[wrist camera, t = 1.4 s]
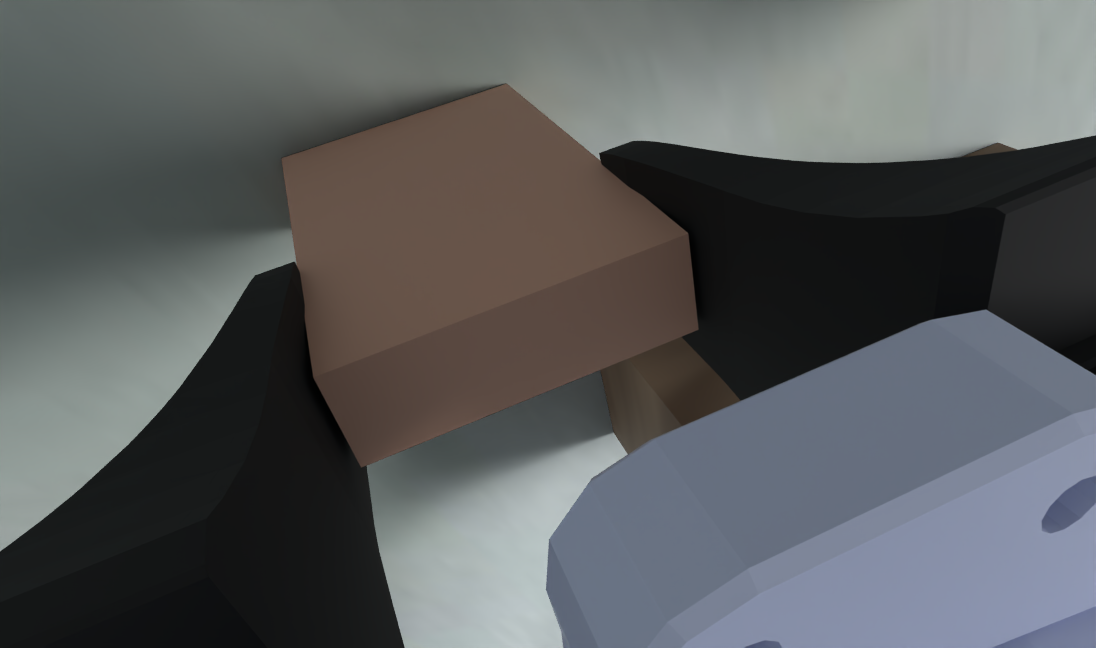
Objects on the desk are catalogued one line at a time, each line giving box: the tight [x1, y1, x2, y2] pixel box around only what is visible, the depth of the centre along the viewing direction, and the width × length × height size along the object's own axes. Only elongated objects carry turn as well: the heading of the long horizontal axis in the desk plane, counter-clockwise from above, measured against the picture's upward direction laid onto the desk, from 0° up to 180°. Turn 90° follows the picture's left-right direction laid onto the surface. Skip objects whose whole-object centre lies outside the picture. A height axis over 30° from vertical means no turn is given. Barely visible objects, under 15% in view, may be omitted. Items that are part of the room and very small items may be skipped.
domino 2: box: [600, 337, 740, 454], centre depth 18 cm, size 2×5×8 cm, turn 13°
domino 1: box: [281, 84, 699, 468], centre depth 13 cm, size 2×5×8 cm, turn 102°
